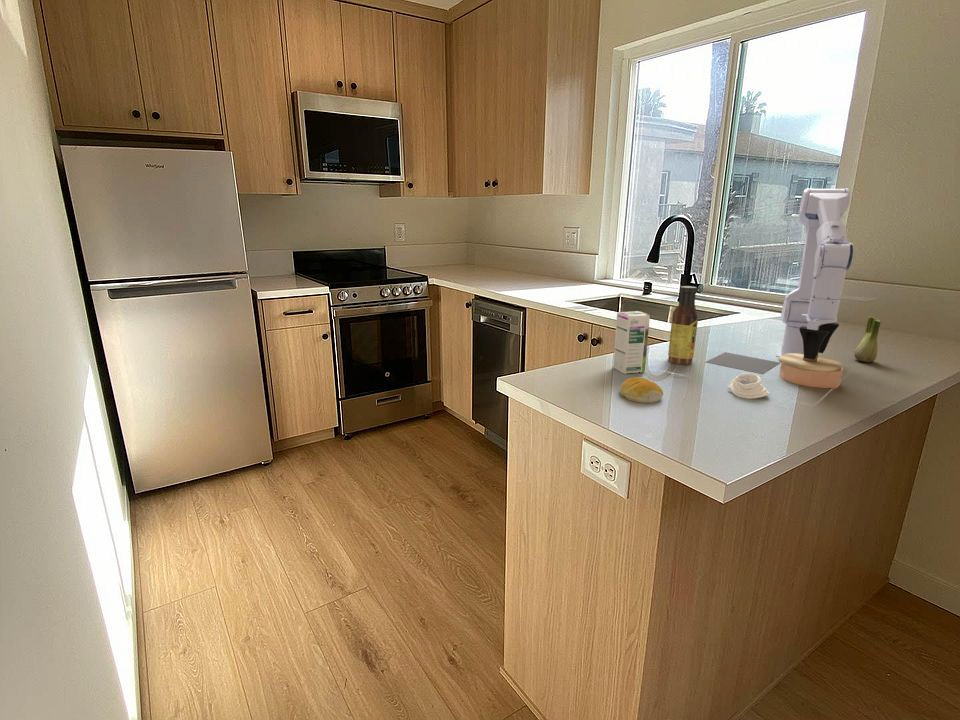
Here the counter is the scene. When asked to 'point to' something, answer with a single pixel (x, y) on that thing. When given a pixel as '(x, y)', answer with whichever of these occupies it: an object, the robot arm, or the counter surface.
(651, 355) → the counter surface
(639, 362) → the syrup box
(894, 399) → the counter surface
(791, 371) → the ring
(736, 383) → the whipped cream
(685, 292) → the sauce bottle
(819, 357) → the lid
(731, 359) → the mat
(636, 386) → the bread roll
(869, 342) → the fennel bulb
